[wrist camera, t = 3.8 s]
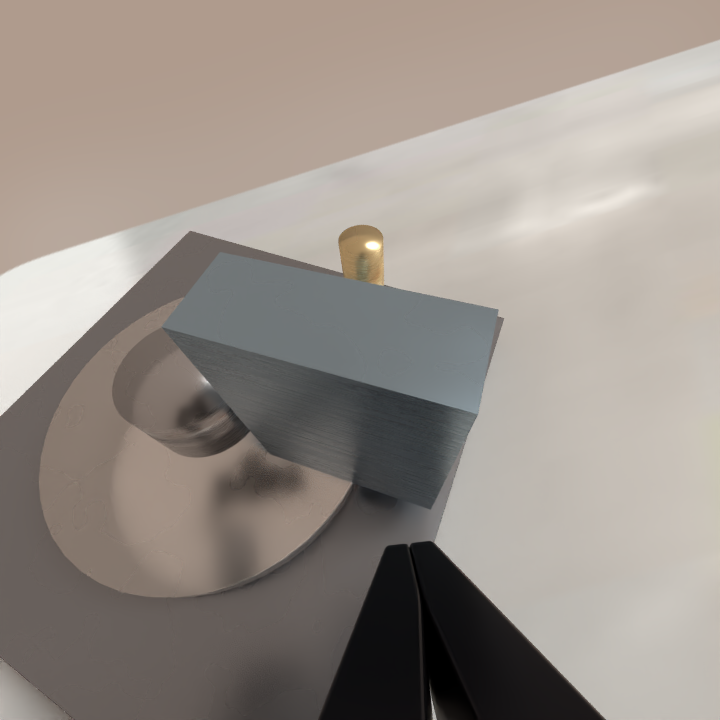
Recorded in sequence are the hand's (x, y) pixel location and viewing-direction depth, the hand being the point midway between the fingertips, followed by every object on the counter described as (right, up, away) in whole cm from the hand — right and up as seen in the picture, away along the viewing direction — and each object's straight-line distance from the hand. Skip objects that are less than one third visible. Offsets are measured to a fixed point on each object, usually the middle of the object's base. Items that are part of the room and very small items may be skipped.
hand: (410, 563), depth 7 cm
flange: (-5, +1, +8) cm, 9 cm away
